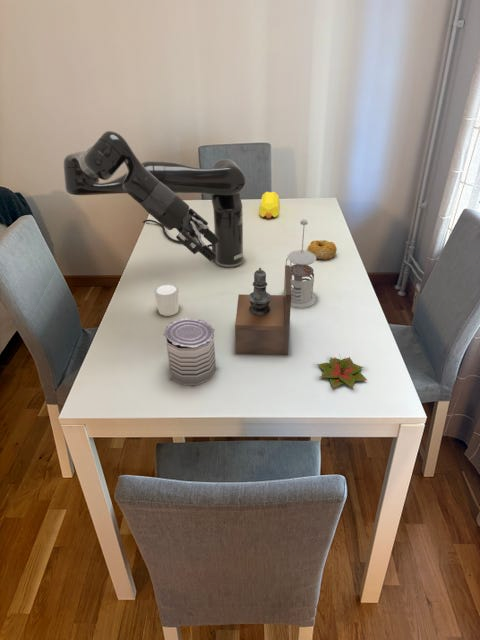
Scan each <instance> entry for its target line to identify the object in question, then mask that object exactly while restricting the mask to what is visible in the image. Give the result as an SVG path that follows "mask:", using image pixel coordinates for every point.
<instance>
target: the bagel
mask: <svg viewBox="0 0 480 640" xmlns="http://www.w3.org/2000/svg"><path fill="white" fill-rule="evenodd" d="M337 250H338V248H337V246H336V244H335V242H333V241H328V240H325V239H324V240H312V241H311V242H310V244H309V245H308V246H307V249H306V251H309V252H311V253H313V254H314V255H315V256H316V259H318V260H323V261H324V260H325V261H326V260H329V259H332V258H334V257H335V256H336V253H337Z"/></svg>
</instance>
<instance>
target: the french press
mask: <svg viewBox="0 0 480 640" xmlns="http://www.w3.org/2000/svg"><path fill="white" fill-rule="evenodd" d="M300 225H301V226H303V228H302V240H301V242H302V243H301V249H298V250H294V251H291V252H289V253H288V254H287V258H286V259H285V265H288V264H287V263H288V262H287V261H289V265H290V278H291V307H293V308H299V309H301V308H308V307H310V306H312V305H314V304H315V302H316V296H315V295H314V283H315V273H314V268H313V267H312V266H311V265H313V264H314V263H315V262H316V261H317V258H316V256H315V255H314V254H313V253H311V252H309V251H307V250H305V249H304V240H305V239H304V237H305V226H306V225H308V220H307V219H305V218H303V219H301V220H300ZM292 264H293V265H292Z"/></svg>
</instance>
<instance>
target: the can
mask: <svg viewBox="0 0 480 640" xmlns="http://www.w3.org/2000/svg"><path fill="white" fill-rule="evenodd" d="M215 330H216V329H215V328H213V327H212V326H211V325H210V324H209V323H207V322H206V321H205V320H204V319H203V320H202V319H197V318H186V317H184V318H180V319H177V320H175V321H172V322H169V323H167V325H166V327H165V330H164V333H163V334H162V336H164V337H165V344H166V351H167V358H168V359H167V360H168V367H169V373H170V376H171V379H172V380H173V381H175V382H176V383H179V384H181V385H182V386H200V385H201V384H204V383H205V382H208V381H210V380H211V379H212V378H213V376H214V374H215V373H216V371H217V367H216V366H217V365H216V347H215Z"/></svg>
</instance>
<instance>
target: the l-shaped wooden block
mask: <svg viewBox="0 0 480 640" xmlns="http://www.w3.org/2000/svg"><path fill="white" fill-rule="evenodd" d="M283 281H284V283H283V294H270V295H271V300H270V303H269V305H268V306H269V307H270V311H269V312H268V313H267V314H264V315H256V314H253V313H251V312H250V310H249V308H250V306H251V304H250V301H249V299H248V296H249V294H242V293H241V294H240V293H239V294H238V295H237V296H238V297H237V304H236V305H237V306H236V307H237V308H236V314H235V324H234V331H235V332H234V333H235V336H234V337H235V338H234V339H235V354H238V355H271V356H272V355H274V356H275V355H276V356H277V355H278V356H288V355H289V346H290V345H289V344H290V325H291V309H292V308H291V307H292V306H291V290H292V289H291V287H292V286H291V278H290V264H289V265H288V264H287V265H286V264H285V265H284V280H283Z"/></svg>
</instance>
